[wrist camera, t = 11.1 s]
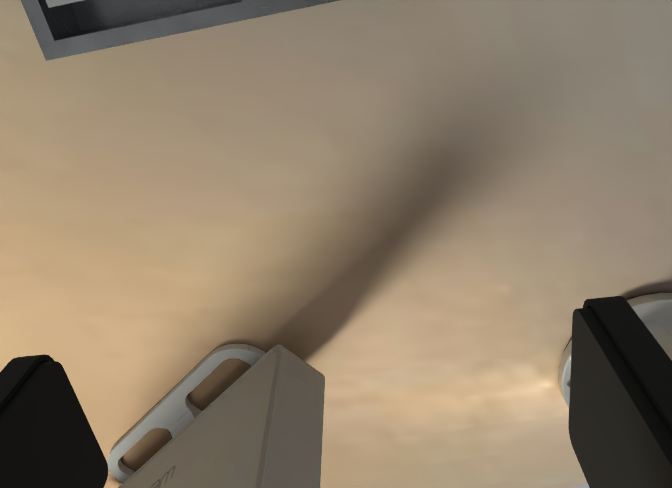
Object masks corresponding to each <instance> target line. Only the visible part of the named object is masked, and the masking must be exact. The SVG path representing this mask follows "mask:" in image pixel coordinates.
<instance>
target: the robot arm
mask: <svg viewBox="0 0 672 488" xmlns="http://www.w3.org/2000/svg"><path fill="white" fill-rule="evenodd" d="M558 381H559V386H560V391H561V393H562V395H563V397H564V400H565V402H566V404H567V405H568V407H569V434H570V439H571V443H572V446H573V449H574V451H575V454H576V456H577V459H578V461H579V463H580V466H581V468H582V470H583V473H584V475H585V477H586V480H587V482H588V485H589V487H590V488H672V293H656V294H649V295H643V296H639V297H636V298H633V299H629V300H626V299H625V298H624V297H622V296H615V297H605V298H595V299H587V300H586V301H585V302H584V305H583V308H581V309H575V310H574V312H573V323H572V339H571V341H570V342H569V344H568V345H567V347H566V349H565V351H564V353H563V355H562V358H561V361H560V365H559V372H558ZM107 476H108V465H107V462H106V459H105V457H104V455H103V453H102V451H101V448H100V446H99V444H98V442H97V440H96V438H95V435H94V433H93V431H92V429H91V427H90V425H89V422H88V420H87V418H86V416H85V414H84V412H83V409H82V407H81V405H80V403H79V401H78V399H77V396H76V394H75V392H74V390H73V388H72V386H71V384H70V381H69V379H68V377H67V375H66V373H65V371H64V368H63V367H62V365H61V364H60V363H59V362H56V361H54V360H53V358H51V357H50V356H49V355H35V356H26V357H17V358H14V359H12V360H11V361H10V362H9V363H8V364H7V365H6V366H5V368H4V369H3V370H2V371H1V372H0V488H103V487H104V485H105V483H106V480H107Z"/></svg>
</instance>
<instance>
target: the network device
mask: <svg viewBox="0 0 672 488" xmlns="http://www.w3.org/2000/svg"><path fill="white" fill-rule="evenodd" d="M227 359H240V360H243V361H244V362H246V363H248V364H249V365H251V366H252V367H251V368H250V369H248V370H247V371H246V372H245V373H244V374H243V375H242V376H241V377H240V378H239V379H237V380H236V381H235V382H234V383H233V384H232V385H231V386H230V387H229V388H227V389H226V390H225V391H224V392H223V393H222V394H221V395H220V396H219V397H218V398H216V399H215V400H214V401H213V402H212V403H211V404H210V405H209V406H208V407H207V408H205V409H204V410H203V411H202V410H200V409H198V408H197V407H195V406H194V405H192V404H191V403H190V402H189V400H188V398H187V395H188V394H189V393H190V392H191V391H192V390H193V389H194V388H195V387H196V386H198V385H199V384H200V383H201V382H202V381H203V380H204V379H205V378H206V377H207V376H208V375H209V374H210V373H211V372H212V371H213V370H215V369H216V368H217V367H218V366H219V365H220V364H221V363H222V362H223V361H225V360H227ZM324 389H325V377H324V375H323V374H322V373H320V372H319V371H317V370H316V369H315V368H313V367H312V366H310V365H309V364H307V363H306V362H305V361H303V360H302V359H300V358H299V357H298V356H296V355H295V354H293V353H292V352H291V351H289V350H288V349H286V348H285V347H283V346H282V345H276V346H275V347H273V348H272V349H270V350H269V351H268V352H267V353H265V352H264V351H262V350H260V349H259V348H257V347H254V346H251V345H247V344H228V345H223V346H221V347H218V348H216V349H215V350H213V351H212V352H211V353H209V354H208V355H207V356H206V357H205V358H204V359H203V360H202V361H201V362H200V363H199V364H198V365H197V366H196V367H195V368H194V369H193V370H192V371H191V372H190V373H189V374H188V375H187V376H186V377H185V378H184V379H182V380H181V381H180V382H179V383H178V384H177V385H176V386H175V387H174V388H173V389H172V390H171V391H170V392H169V393H168V394H167V395H166V396H165V397H164V398H163V399H162V400H161V401H160V402H159V403H158V404H157V405H155V406H154V407H153V408H152V409H151V410H150V411H149V412H148V413H147V414H146V415H145V416H144V417H143V418H142V419H141V420H140V421H139V422H138V423H137V424H136V425H135V426H134V427H133V428H132V429H131V430H129V431H128V432H127V433H126V434H125V435H124V436H123V437H122V438H121V439H120V440H119V441H118V442H117V443H116V444H115V445H114V446H113V448H112V449H111V452H110V454H109V456H108V459H107V465H108V468H109V471H110V472H111V474H112V475H113V476H114V477H115V478H116V479H117V480H118V481H120V482H121V483H123V484H122V485H121V486H120V487H118V488H320V476H321V454H322V432H323V410H324ZM155 428H164V429H167V430H168V431H169V432H170V433H171V435H172V439H171V440H170V441H169V442H168V443H167V444H166V445H165V446H164V447H163V448H161V449H160V450H159V451H158V452H157V453H156V454H155V455H154V456H153V457H151V458H150V459H149V460H148V461H147V462H146V463H145V464H144V465H143V466H142V467H140V468H139V469H138V470H137V471H136V472H135V471H133V470H131V469H130V468H128V467H126V466H125V465H124V464H123V463H122V462H121V460H120V458H121V457H122V456H123V455H124V454H125V453H126V452H127V451H128V450H129V449H131V448H132V447H133V446H134V445H135V444H136V443H137V442H138V441H139V440H140V439H141V438H142V437H143V436H144V435H145V434H146V433H148V432H149V431H150V430H152V429H155Z"/></svg>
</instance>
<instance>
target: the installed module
mask: <svg viewBox="0 0 672 488" xmlns="http://www.w3.org/2000/svg"><path fill="white" fill-rule="evenodd" d="M78 1H83V0H46V3H47V5H48V8H50V7H55V6H60V5H64V4H69V3H73V2H78Z"/></svg>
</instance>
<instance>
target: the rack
mask: <svg viewBox="0 0 672 488" xmlns="http://www.w3.org/2000/svg"><path fill="white" fill-rule="evenodd" d="M334 1H339V0H83V1H78V2H73V3H69V4H64V5H60V6H55V7H50V8H48V5H47V3H46V0H21V2H22V4H23V7H24V9H25V11H26V14H27V16H28V18H29V21H30V23H31V26H32V28H33V30H34V33H35V35H36V38H37V40H38V42H39V45H40V47H41V49H42V52H43V54H44V57H45V59H46V61H47V60H52V59H56V58H61V57H66V56H71V55H76V54H81V53H86V52H91V51H95V50H100V49H105V48H110V47H115V46H120V45H125V44H129V43H134V42H139V41H144V40H149V39H154V38H159V37H164V36H168V35H173V34H178V33H183V32H188V31H193V30H198V29H203V28H207V27H212V26H217V25H222V24H227V23H232V22H237V21H242V20H246V19H251V18H256V17H261V16H266V15H271V14H276V13H281V12H285V11H290V10H295V9H300V8H305V7H310V6H315V5H320V4H324V3H329V2H334Z"/></svg>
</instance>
